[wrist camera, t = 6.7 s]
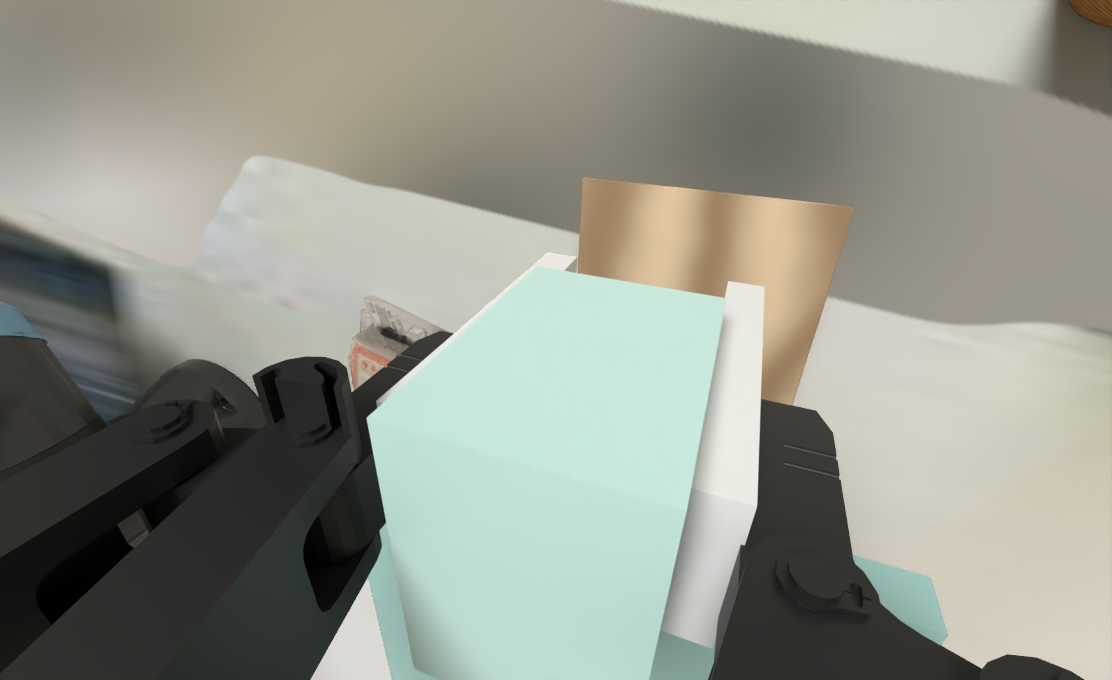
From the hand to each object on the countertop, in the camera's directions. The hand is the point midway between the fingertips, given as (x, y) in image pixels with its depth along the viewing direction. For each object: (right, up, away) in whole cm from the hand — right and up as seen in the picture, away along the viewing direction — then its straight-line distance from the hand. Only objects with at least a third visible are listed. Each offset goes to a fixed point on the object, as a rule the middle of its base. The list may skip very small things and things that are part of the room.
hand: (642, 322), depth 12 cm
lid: (-1, -8, +2) cm, 8 cm away
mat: (+7, +1, +24) cm, 25 cm away
